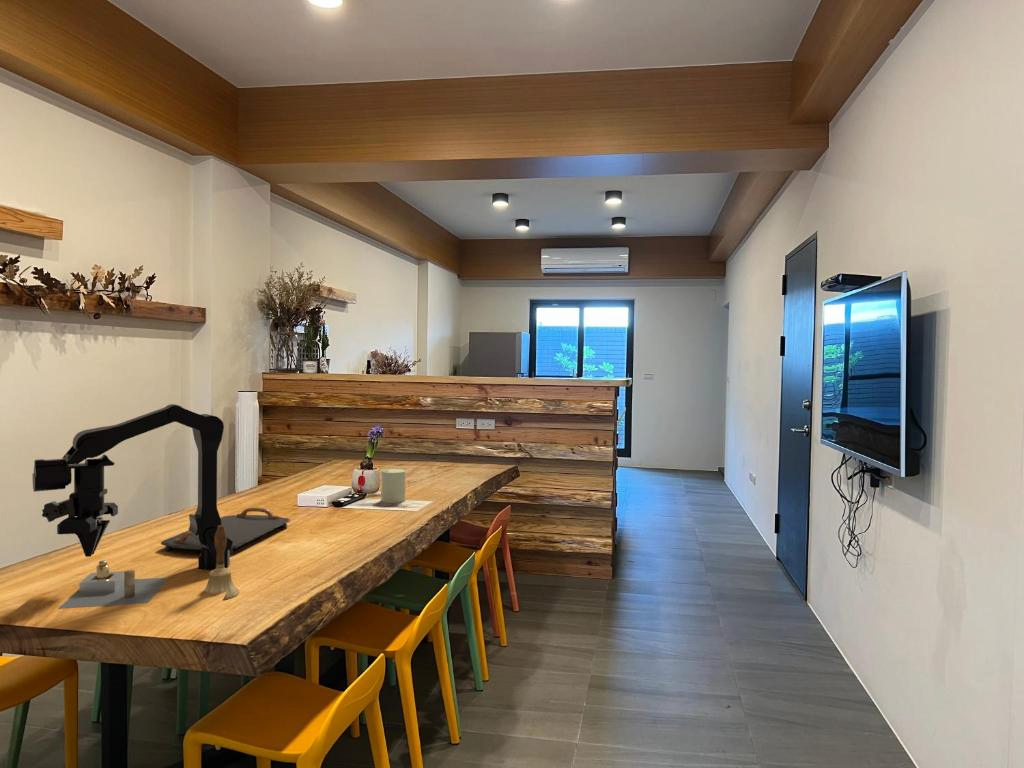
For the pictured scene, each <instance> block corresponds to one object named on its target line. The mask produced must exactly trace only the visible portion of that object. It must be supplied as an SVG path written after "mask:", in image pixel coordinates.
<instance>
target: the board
mask: <svg viewBox="0 0 1024 768" xmlns="http://www.w3.org/2000/svg"><path fill="white" fill-rule="evenodd" d="M168 580H169V577H167V576H166V577H154V578H153V577H152V578H151V577H150V578H135V596H134V597H131V598H125V597H124V584H123V585H122V586H121V587H119V588H118V589H117V590H116V591H115V592H107V593H90V594H80V589H79V590H77V592H75V593H74V594H73V595H71V596H70V597H69V598H68V599H67V600H66V601H65V602H63V604H61V605H60V606H59V607H58V608H57V610H59V609H74V608H75V609H76V608H91V607H92V608H93V607H108V606H123V605H140V604H149V603H150V601H151V600H152V599H153V598H154V596H156V594H157V593H158V592H159V591H160V589H161V588H162V587H163V586H164V585H165V583H166V582H167V581H168Z"/></svg>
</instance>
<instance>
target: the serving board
mask: <svg viewBox="0 0 1024 768" xmlns="http://www.w3.org/2000/svg"><path fill="white" fill-rule="evenodd" d="M250 512H259V513H265V515H264V514H248V513H250ZM220 519H221V523H222V525H224V529H225V532H226V535H227V537H228V538H229V539H230V540H231V541H233V544H232V546H231V549H230V556H231V555H233V553H234V550H233V549H237V548H239V547H241V546H242V545H243V546H244V545H245V544H247V543H249V542H251V541H254V540H256V539H257V538H259V537H261V536H263V535H266V534H267V533H269V532H271V531H274V530H276V529H277V528H279V527H280V528H286V527H287V526H288V524H287V523H290V522H291V519H290V518H288V517H281V516H279V515H277V514H276V515H275V514H274V513H273V512H272V511H271V510H270V509H268V508H265V507H258V506H257V507H254V506H253V507H247V508H245V509H244V510H243V511H242V512H241V513H237V514H236V515H235V514H231V515H224V516H222V517H220ZM160 545H162V546H164V551H165V552H171V551H174V548H175V549H182V550H200V551H201V549H202V548H203V547H204V546H202V545H201V544H200V542H199V541H198V540H197V539H195V538H194V537H193V536H192V532H190V531H189V530H187V531H183V532H182V533H179V534H177V535H174V536H172V537H168V538H167V539H164V540H162V541H161V542H160Z"/></svg>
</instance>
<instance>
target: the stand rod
mask: <svg viewBox="0 0 1024 768" xmlns="http://www.w3.org/2000/svg"><path fill="white" fill-rule="evenodd" d="M124 571H125V572H124V597H125V598H131V597H134V596H135V579H136V571H135V570H134V569H128V570H124Z"/></svg>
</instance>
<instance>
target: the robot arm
mask: <svg viewBox="0 0 1024 768" xmlns="http://www.w3.org/2000/svg"><path fill="white" fill-rule="evenodd" d="M172 423H178V424H181V425H183V426H185V427H188V428H191V429H192V434H193V440H194V442H195V445H196V449H197V507H196V510H195V513H194V514H192V513H191V514H189V515H188V518H189V527H188V529H187V531H190V532H192V536H193V537H194V538H195V539H197V540H198V541H199V542H200V544H201V545H202V546H204V547H203V548H202V549H201V550H200V554H199V555H198V557H197V558H198V562H197V563H198V568H197V569H198V570H207V571H212V570H214V569H216V562H217V561H216V560H217V552H216V548H215V542H214V539H215V534H216V531H217V528H218V526H219V525H222V523H221V519H220V518H221V516H220V513H219V510H218V497H217V496H218V451H219V448H220V446H221V443H222V440H223V435H224V428H225V424H224V422H223V419H221V418H220V417H218V416H216V415H212V414H209V413H202V414H200V413H196V412H195V411H191V410H189V409H186V408H184V407H183V406H181V405H179V404H174V403H172V404H168V405H166V406H164V407H161V408H158V409H157V410H156V409H155V410H154V411H150V412H148V413H145V414H141V415H139V416H137V417H134V418H131V419H129V420H126V421H123V422H120V423H117V424H112V425H107V426H101V427H95V428H89V429H84V430H81V431H79V432H77V433H76V434H75V435H74V437H73V438H72V446H70V448H69V449H68V450H67V451H66V452H65V454H64V455H63V456H62V458H53V459H44V458H43V459H42V458H41V459H35V460H34V461H33V462H34V464H33V465H34V466H33V473H32V475H31V476H32V489H33V492H34V493H35V492H45V491H47V492H48V491H56V490H65V489H66V487H67V486H69V485H71V484H72V480H73V483H74V484H73V491H72V492H71V493H70V494H69V496H68V499H65V500H62V501H59V502H57V501H56V500H53V501H51V502H48V503H45V504H43V509H41V511H42V513H41V517H43V518H46V520H47V521H48V523H51V522H54V521H55V520H56V519H59V518H63V517H65V516H67V517H66V518H64V519H63V520H61V521H60V522H59V523H58V524H57V525H56V528H57V529H56V532H57V533H56V534H58V535H73V534H74V535H76V536H77V538H78V540H79V543H80V546H81V548H82V551H83V553H84V556H85V557H87V558H88V557H92V555H94V554H95V552H96V550H97V548H98V545H99V544H100V541H101V539H102V537H103V535H104V534H105V531H106V529H107V527H108V525H109V524H110V522H111V520H110V519H108V520H107V519H106V520H105V519H104V517H102V516H104V515H110V516H111V517H115V516H117V515H118V514H119V506H118V505H117V504H116V503H115V502H105V495H106V494H108V488H105V467H110V466H111V467H112V466H115V462H114V461H113V460H111V459H110V458H109V456H108V455H107V454H105V453H106V452H108V451H111V450H112V449H113V448H115V447H116V446H117V445H119V444H121V443H122V442H124V441H126V440H129V439H132V438H134V437H137V436H141V435H143V434H146V433H148V432H150V431H153V430H157V429H159V428H161V427H165V426H167V425H170V424H172ZM102 454H103V455H102ZM99 456H100V458H97V457H99ZM82 462H83V463H82ZM72 469H73V475H72ZM72 477H73V479H72ZM232 544H233V541H231V540H230V539H229V538H228V537H227V543H226V548H225V551H224V567H225V568H226V569H228V568H229V567H230V566H231V564H230V563H231V558H230V557H231V555H230V549H231V546H232Z"/></svg>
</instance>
